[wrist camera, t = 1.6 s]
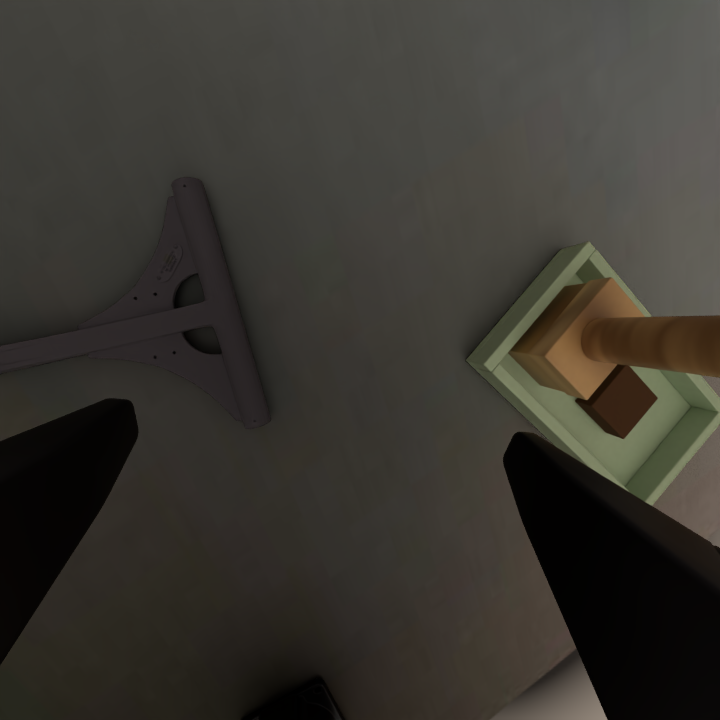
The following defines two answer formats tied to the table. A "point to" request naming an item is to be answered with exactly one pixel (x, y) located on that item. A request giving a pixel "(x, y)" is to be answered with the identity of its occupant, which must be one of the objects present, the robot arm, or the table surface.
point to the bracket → (170, 316)
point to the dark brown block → (619, 401)
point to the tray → (560, 411)
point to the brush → (611, 340)
